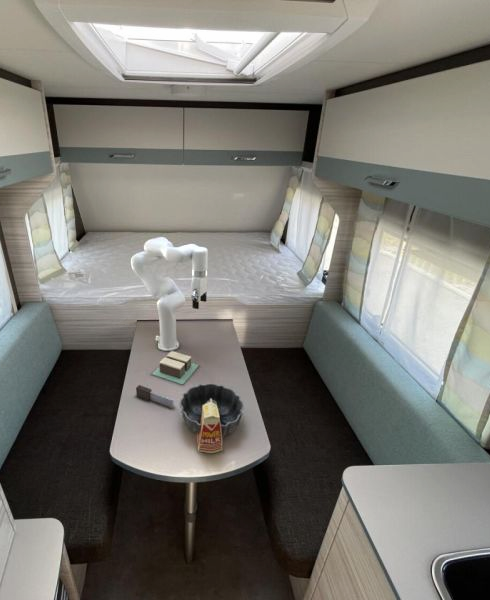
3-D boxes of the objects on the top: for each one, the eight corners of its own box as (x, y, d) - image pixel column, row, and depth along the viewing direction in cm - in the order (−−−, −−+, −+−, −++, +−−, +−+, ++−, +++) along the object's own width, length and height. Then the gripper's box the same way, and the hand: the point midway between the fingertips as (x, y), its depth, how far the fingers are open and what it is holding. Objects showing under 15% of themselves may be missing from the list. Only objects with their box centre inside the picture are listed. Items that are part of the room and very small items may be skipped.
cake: (151, 374, 167) (151, 363, 165) (169, 357, 182) (169, 346, 179) (182, 385, 160) (182, 373, 157) (198, 366, 174) (198, 355, 172)
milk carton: (197, 434, 130) (198, 395, 122) (220, 434, 131) (222, 394, 123) (198, 453, 122) (199, 412, 114) (222, 453, 122) (225, 412, 114)
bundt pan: (210, 392, 155) (211, 375, 151) (255, 423, 137) (257, 404, 133) (166, 419, 138) (166, 401, 134) (211, 458, 121) (212, 438, 117)
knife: (136, 396, 152) (135, 387, 150) (139, 393, 154) (139, 384, 152) (171, 409, 144) (171, 400, 142) (174, 406, 146) (174, 397, 144)
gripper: (199, 266, 167) (199, 297, 174) (185, 277, 153) (185, 310, 160) (213, 268, 164) (212, 299, 171) (199, 279, 150) (199, 312, 157)
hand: (199, 304), depth 165 cm, fingers open, 9 cm apart
